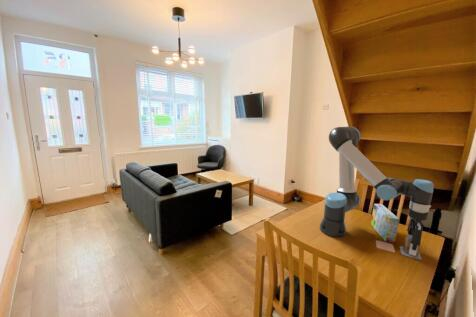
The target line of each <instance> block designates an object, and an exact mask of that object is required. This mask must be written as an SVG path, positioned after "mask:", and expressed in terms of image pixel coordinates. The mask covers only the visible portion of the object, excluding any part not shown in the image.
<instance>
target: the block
mask: <svg viewBox="0 0 476 317" xmlns="http://www.w3.org/2000/svg"><path fill="white" fill-rule="evenodd" d="M408 235H409V234H406V235H405V239H404V243H403V247H404V248H403V249H404V251H405V253H406V254H409V250H410V245H411V243H410V242H412V236H408ZM420 247H421V245H420V246H419V245H418V248H417V253H416V256H417V257H418V252H419V253H420ZM409 255H411V254H409ZM413 256H414V255H413Z"/></svg>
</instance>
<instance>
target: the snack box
mask: <svg viewBox="0 0 476 317" xmlns="http://www.w3.org/2000/svg"><path fill="white" fill-rule="evenodd" d="M371 213H372V215H371V221H370V225H371V226H372V227H373V229H374V230H375V232H376V233H378V234H379V236H380V237H381V238H382V239H383V242H386V243H390V244H395V243H396V238H397V234H398V230H399V225H400V218H399V217H398V216H396V215H395V214H394V213H393V212H392V211H390V210H389V208H387V207H386V206H385V205H384V204H381V203H373V207H372V212H371Z"/></svg>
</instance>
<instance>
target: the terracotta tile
mask: <svg viewBox="0 0 476 317" xmlns="http://www.w3.org/2000/svg"><path fill="white" fill-rule="evenodd" d="M375 244H376V249H378V250H379V249H380V250H381V251H382V250H384V251H386V252H389V253H396V251H395V248H394V243H391V242H385V241H381V240H377V239H375Z"/></svg>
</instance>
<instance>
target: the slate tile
mask: <svg viewBox="0 0 476 317" xmlns="http://www.w3.org/2000/svg"><path fill="white" fill-rule="evenodd" d="M403 248H404V246H401V245H399V249H400V252H401V253H400V254H401V255H402V256H406V257H410V258H412V259H417V260H420V261H422V260H423V259H422V257H421V254H420V251H419V252H418V257H417V256H413V255H409V254H406V253H405V251H404V249H403Z"/></svg>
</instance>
